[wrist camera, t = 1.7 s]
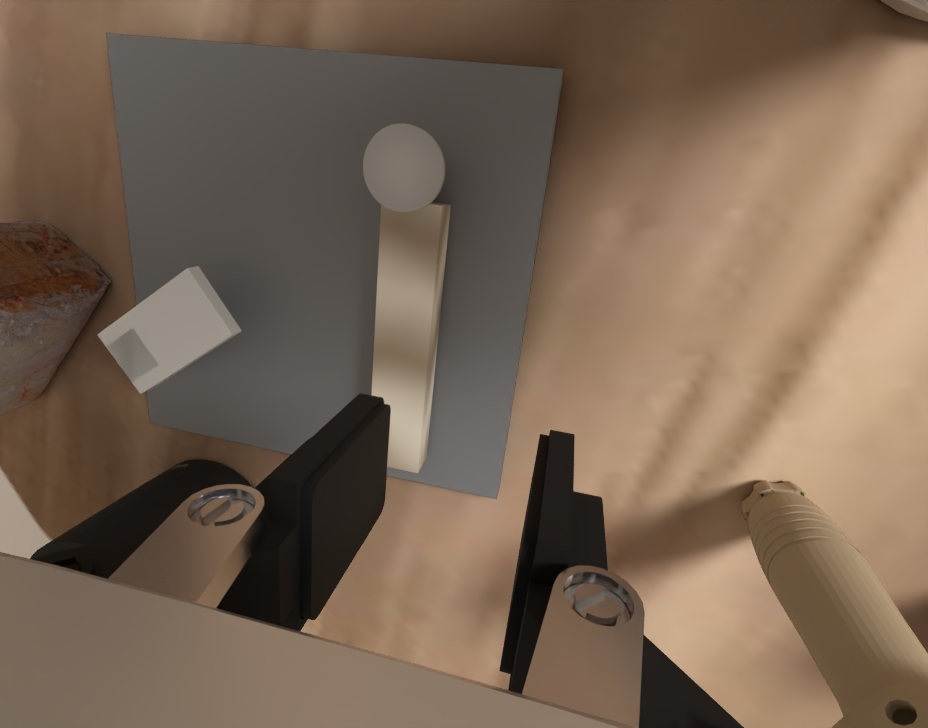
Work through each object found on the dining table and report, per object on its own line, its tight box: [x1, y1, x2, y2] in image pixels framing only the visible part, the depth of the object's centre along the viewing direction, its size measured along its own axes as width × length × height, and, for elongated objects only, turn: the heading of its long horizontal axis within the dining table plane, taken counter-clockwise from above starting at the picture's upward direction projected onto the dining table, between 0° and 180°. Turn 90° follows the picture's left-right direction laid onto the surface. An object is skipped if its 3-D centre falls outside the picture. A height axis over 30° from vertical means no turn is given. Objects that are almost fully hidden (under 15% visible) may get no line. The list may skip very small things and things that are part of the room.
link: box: [371, 202, 451, 473], centre depth 28 cm, size 15×3×2 cm, turn 174°
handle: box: [741, 481, 928, 728], centre depth 21 cm, size 5×6×15 cm
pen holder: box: [30, 460, 253, 560], centre depth 33 cm, size 9×9×10 cm
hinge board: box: [97, 33, 564, 499], centre depth 28 cm, size 23×24×5 cm
